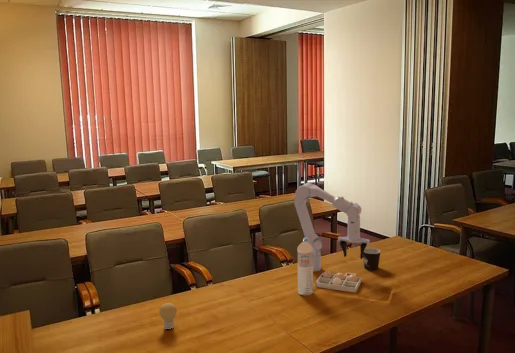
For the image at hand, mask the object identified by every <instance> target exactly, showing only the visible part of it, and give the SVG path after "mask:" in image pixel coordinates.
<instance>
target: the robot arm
mask: <svg viewBox="0 0 515 353" xmlns="http://www.w3.org/2000/svg"><path fill="white" fill-rule="evenodd" d="M315 197H318V198H320V199H322V200H324V201H326V202H329V203H331V204H332V207H333V208H335V209H336V210H339V211H340V212H342V213H344V214H346V216H347V236H338V237H337V242H339V246H340V248H341V250H342V252H343V257H344V258H346V257H347V256H348V255H347V254H348V253H347V249H348V248H347V246H348V245H347V244H348V243H354V244H360V245H359V246H360V255H359V257H360V258H359V259H361V260H362V259H363V253H364V250H365V248H367V246H368V245H370V239H367V238H364V237H361V216H360V215H361V214H362V207H361V206H360V205H359V203H357V202H356V203H354V202H352V201H348V200H347V199H346V198H345V196H334V195H332V194H330V193H329V192H328V191H325V190H324V189H322V188H320V186H318V185H316V184H313V183H312V182H306V183H304V184H302V185H299V186H298V187H297V189H296V190H295V196H294V200H293V204H294V208H295V210H296V215H297V216H298V219H299V220H298V221H299V223H300V226H301V229H302V232H303V236H304V238H307V242H308V243H309V244H311V246H312V247H313V272H320V271H321V270H322V269H321V267H322V264H321V263H322V260H321V259H322V257H321V256H322V254H321V249H322V248H323V242H322V241H321V239H320V237H319V235H318V234H316V232H315V229H314V226H313V222H312V219H311V217H310V213H309V210H308V207H307V204H306V202H308V200H309V198H315Z"/></svg>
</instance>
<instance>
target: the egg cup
mask: <svg viewBox="0 0 515 353" xmlns="http://www.w3.org/2000/svg"><path fill="white" fill-rule="evenodd" d="M352 274H353V275H356V276H357V273H354V272H353V273H352V272H345V274H344V275H345V276H350V275H352Z"/></svg>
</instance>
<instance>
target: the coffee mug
mask: <svg viewBox="0 0 515 353" xmlns="http://www.w3.org/2000/svg"><path fill="white" fill-rule="evenodd" d="M381 252H382V251H381V250H380V249H379V248H374V247H366V248H365V250H364V253H363V258H362V259H363V268H364V269H365V270H366V271H377V270H378V269H379V263H380V258H381V257H380V256H381Z"/></svg>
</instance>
